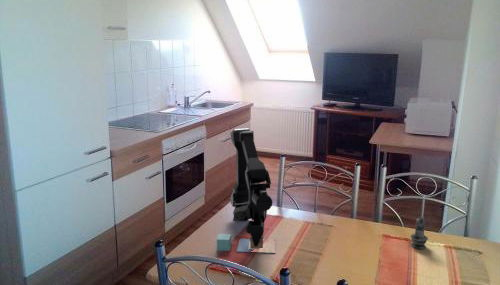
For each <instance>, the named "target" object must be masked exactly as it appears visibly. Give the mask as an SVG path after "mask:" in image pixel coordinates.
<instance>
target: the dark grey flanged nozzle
mask: <svg viewBox="0 0 500 285" xmlns="http://www.w3.org/2000/svg"><path fill="white" fill-rule="evenodd" d="M422 216H423V215H420V216H419V217H417V218H416V222H415V225H414V229H415V230H414V233H411V235H410V240H411V243H410V247H412V248H413V249H415V250H419V251H420V250H421V251H422V250H426V248H427V246H426V245H425V244H426V243H427V242H428V239H429V237H428V236H426V235H425V230H426V227H425V222H426V221H425V219H424V218H423V217H422Z"/></svg>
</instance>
